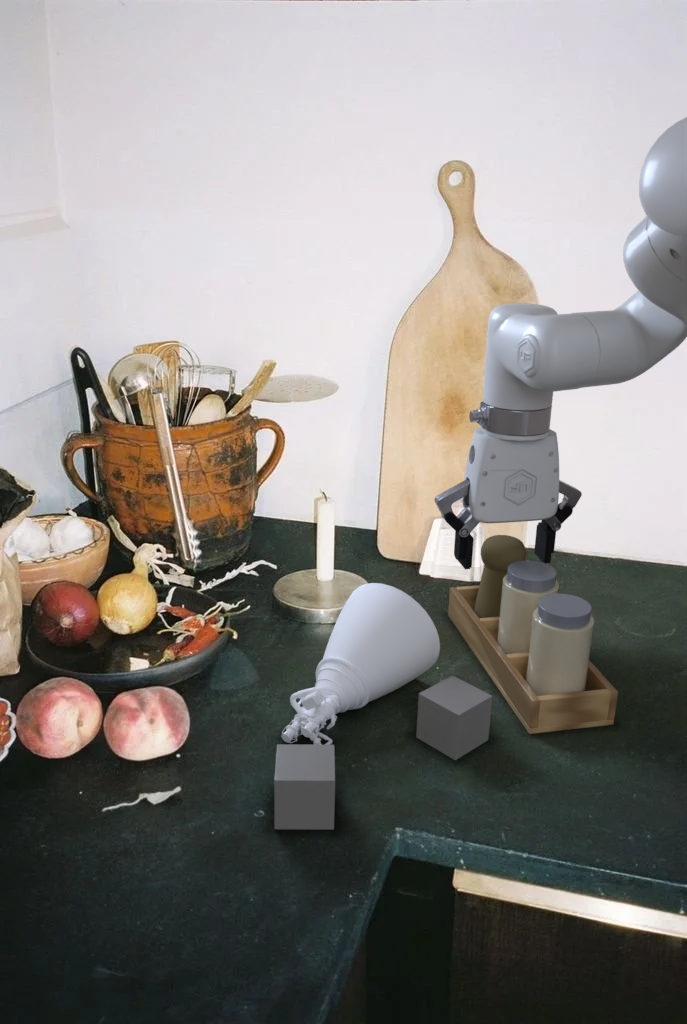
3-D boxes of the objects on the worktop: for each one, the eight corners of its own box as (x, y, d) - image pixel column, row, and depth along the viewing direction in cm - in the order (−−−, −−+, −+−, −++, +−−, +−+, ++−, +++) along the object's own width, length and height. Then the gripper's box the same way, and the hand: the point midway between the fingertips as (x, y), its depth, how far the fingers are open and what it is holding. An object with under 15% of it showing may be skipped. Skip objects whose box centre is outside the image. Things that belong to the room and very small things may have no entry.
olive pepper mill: (470, 633, 110) (477, 546, 106) (472, 610, 115) (478, 527, 111) (522, 638, 109) (531, 551, 105) (521, 614, 115) (530, 531, 111)
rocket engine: (288, 673, 83) (392, 567, 96) (226, 704, 92) (329, 603, 104) (367, 773, 84) (460, 655, 96) (299, 794, 92) (393, 684, 105)
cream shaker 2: (593, 712, 95) (606, 616, 91) (538, 718, 94) (549, 620, 90) (567, 681, 101) (579, 589, 97) (515, 687, 99) (525, 593, 95)
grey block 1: (334, 829, 79) (335, 780, 77) (274, 829, 79) (274, 780, 77) (333, 791, 83) (334, 744, 82) (277, 791, 83) (277, 744, 81)
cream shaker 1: (558, 670, 103) (569, 579, 99) (507, 675, 101) (516, 584, 97) (537, 644, 108) (546, 557, 104) (487, 648, 107) (495, 560, 103)
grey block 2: (488, 740, 91) (492, 695, 89) (455, 760, 88) (458, 715, 86) (449, 718, 95) (452, 675, 93) (415, 737, 91) (418, 693, 90)
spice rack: (516, 609, 118) (519, 581, 116) (613, 724, 94) (618, 692, 93) (447, 615, 116) (449, 587, 114) (529, 734, 92) (532, 701, 91)
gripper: (451, 431, 98) (442, 580, 104) (603, 425, 101) (586, 569, 107) (430, 413, 105) (422, 554, 111) (573, 408, 108) (558, 544, 114)
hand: (503, 561), depth 109 cm, fingers open, 9 cm apart
